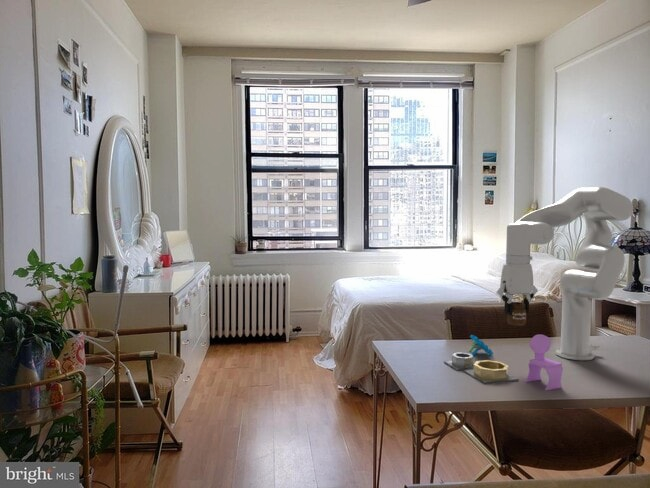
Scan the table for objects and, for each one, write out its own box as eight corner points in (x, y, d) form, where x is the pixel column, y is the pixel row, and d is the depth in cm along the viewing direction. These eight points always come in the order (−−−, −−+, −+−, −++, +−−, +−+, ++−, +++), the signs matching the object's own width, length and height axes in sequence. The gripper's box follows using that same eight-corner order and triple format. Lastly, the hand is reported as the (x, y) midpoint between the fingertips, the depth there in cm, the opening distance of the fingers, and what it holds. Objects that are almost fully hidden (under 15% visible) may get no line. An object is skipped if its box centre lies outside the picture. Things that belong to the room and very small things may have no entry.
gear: (498, 354, 184) (478, 334, 184) (487, 366, 183) (467, 346, 183) (486, 350, 195) (468, 331, 195) (476, 361, 194) (457, 342, 194)
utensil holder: (504, 322, 177) (504, 287, 176) (521, 321, 177) (522, 286, 176) (512, 326, 171) (513, 290, 170) (530, 325, 171) (531, 289, 170)
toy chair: (544, 391, 152) (546, 341, 151) (522, 382, 160) (524, 334, 159) (565, 387, 156) (567, 338, 155) (542, 378, 164) (544, 332, 163)
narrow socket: (467, 360, 182) (467, 350, 182) (481, 368, 173) (481, 358, 173) (444, 362, 179) (444, 352, 179) (457, 370, 171) (457, 360, 170)
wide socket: (495, 368, 173) (496, 358, 173) (518, 380, 161) (519, 369, 161) (464, 371, 170) (464, 361, 169) (485, 384, 158) (485, 372, 158)
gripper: (532, 258, 178) (531, 309, 180) (488, 260, 173) (487, 313, 175) (547, 260, 171) (546, 314, 172) (502, 262, 166) (501, 317, 168)
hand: (516, 313), depth 174 cm, fingers closed on utensil holder, 5 cm apart
